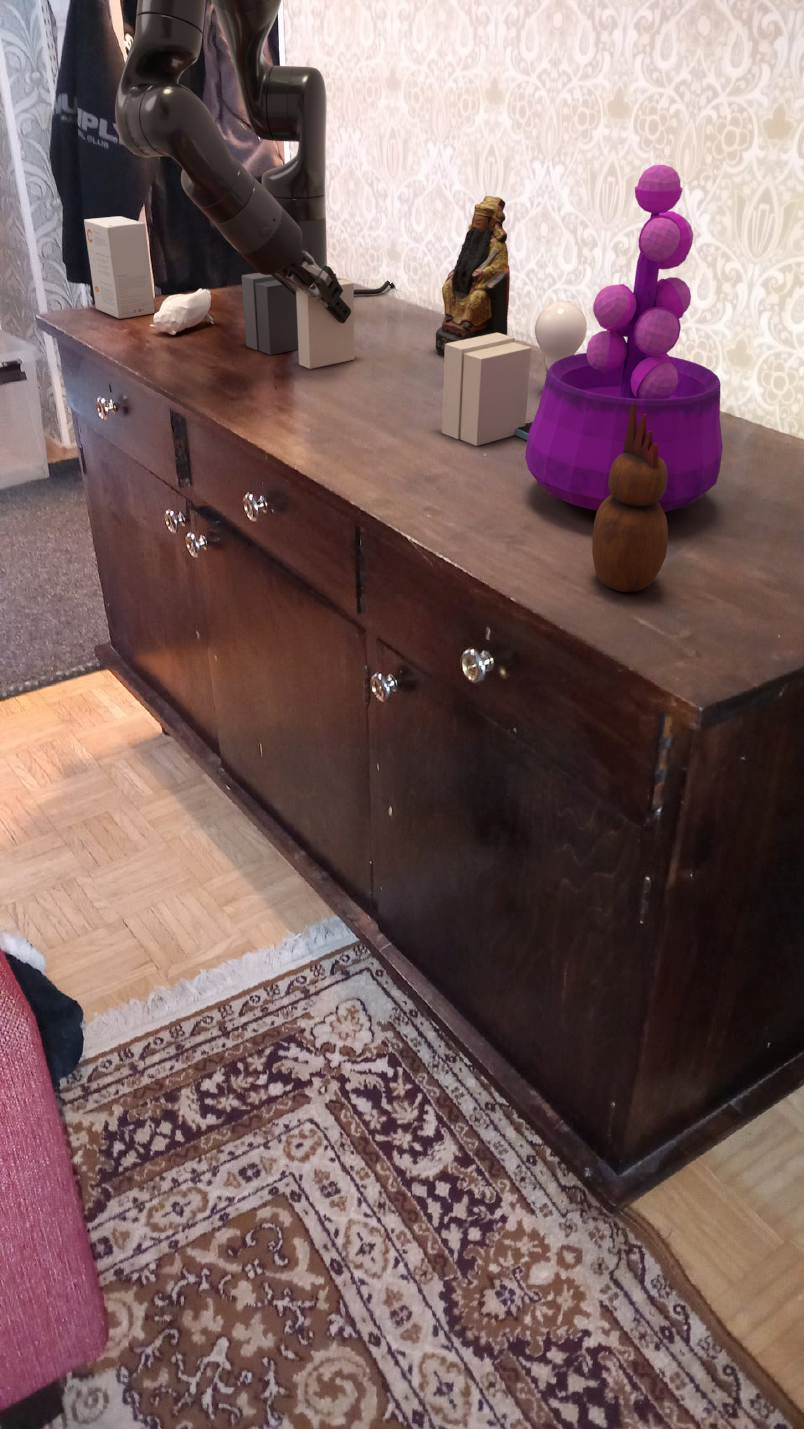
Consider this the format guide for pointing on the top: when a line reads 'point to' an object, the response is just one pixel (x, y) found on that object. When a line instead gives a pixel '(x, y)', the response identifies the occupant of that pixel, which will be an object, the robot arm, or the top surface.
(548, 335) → the lightbulb
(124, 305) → the small box
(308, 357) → the white book
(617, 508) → the wooden figurine
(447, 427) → the white books
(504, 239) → the statue
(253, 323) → the grey books
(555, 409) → the decorative plant
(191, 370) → the top surface
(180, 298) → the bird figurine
